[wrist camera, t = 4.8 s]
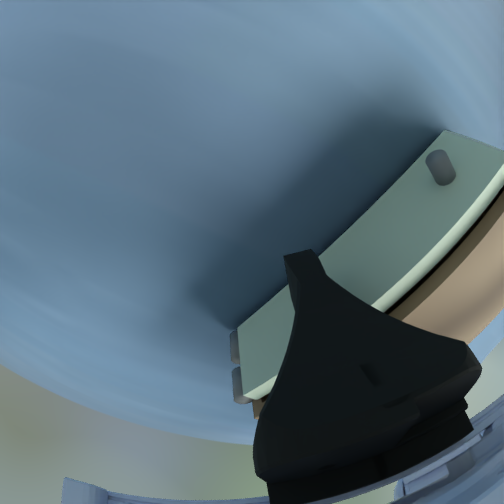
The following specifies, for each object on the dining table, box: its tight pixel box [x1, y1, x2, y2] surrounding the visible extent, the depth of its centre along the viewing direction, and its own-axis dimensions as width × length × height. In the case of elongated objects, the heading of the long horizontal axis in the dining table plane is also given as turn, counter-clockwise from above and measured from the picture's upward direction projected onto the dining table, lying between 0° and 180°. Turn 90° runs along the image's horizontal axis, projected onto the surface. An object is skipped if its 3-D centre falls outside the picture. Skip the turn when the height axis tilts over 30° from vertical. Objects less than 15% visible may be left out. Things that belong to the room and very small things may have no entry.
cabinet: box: [252, 185, 504, 419], centre depth 12 cm, size 7×16×5 cm, turn 138°
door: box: [230, 130, 504, 404], centre depth 10 cm, size 2×15×4 cm, turn 137°
